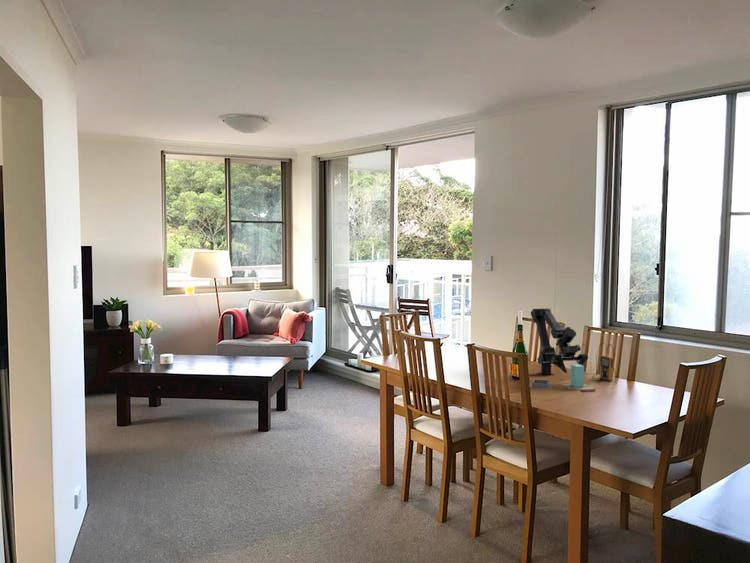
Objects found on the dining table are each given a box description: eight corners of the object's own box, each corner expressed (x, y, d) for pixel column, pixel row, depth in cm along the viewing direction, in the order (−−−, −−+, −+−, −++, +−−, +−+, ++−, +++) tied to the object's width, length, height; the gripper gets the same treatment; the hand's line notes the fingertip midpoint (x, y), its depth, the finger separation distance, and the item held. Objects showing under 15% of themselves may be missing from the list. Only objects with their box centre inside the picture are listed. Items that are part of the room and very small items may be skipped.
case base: (531, 383, 316) (531, 377, 315) (552, 385, 312) (552, 379, 311) (528, 389, 302) (528, 383, 302) (550, 391, 299) (550, 385, 298)
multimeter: (584, 377, 329) (585, 342, 327) (598, 376, 333) (599, 341, 331) (604, 383, 315) (605, 346, 314) (618, 382, 319) (619, 345, 318)
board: (559, 386, 310) (559, 383, 310) (582, 385, 312) (582, 382, 312) (571, 392, 297) (571, 389, 297) (595, 391, 299) (595, 388, 299)
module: (570, 385, 306) (571, 364, 306) (578, 385, 307) (579, 364, 306) (575, 387, 302) (575, 366, 301) (583, 387, 302) (584, 366, 301)
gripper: (554, 339, 309) (563, 364, 299) (586, 338, 312) (597, 363, 302) (546, 351, 318) (555, 376, 308) (579, 350, 320) (588, 375, 311)
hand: (574, 372), depth 307 cm, fingers open, 9 cm apart
